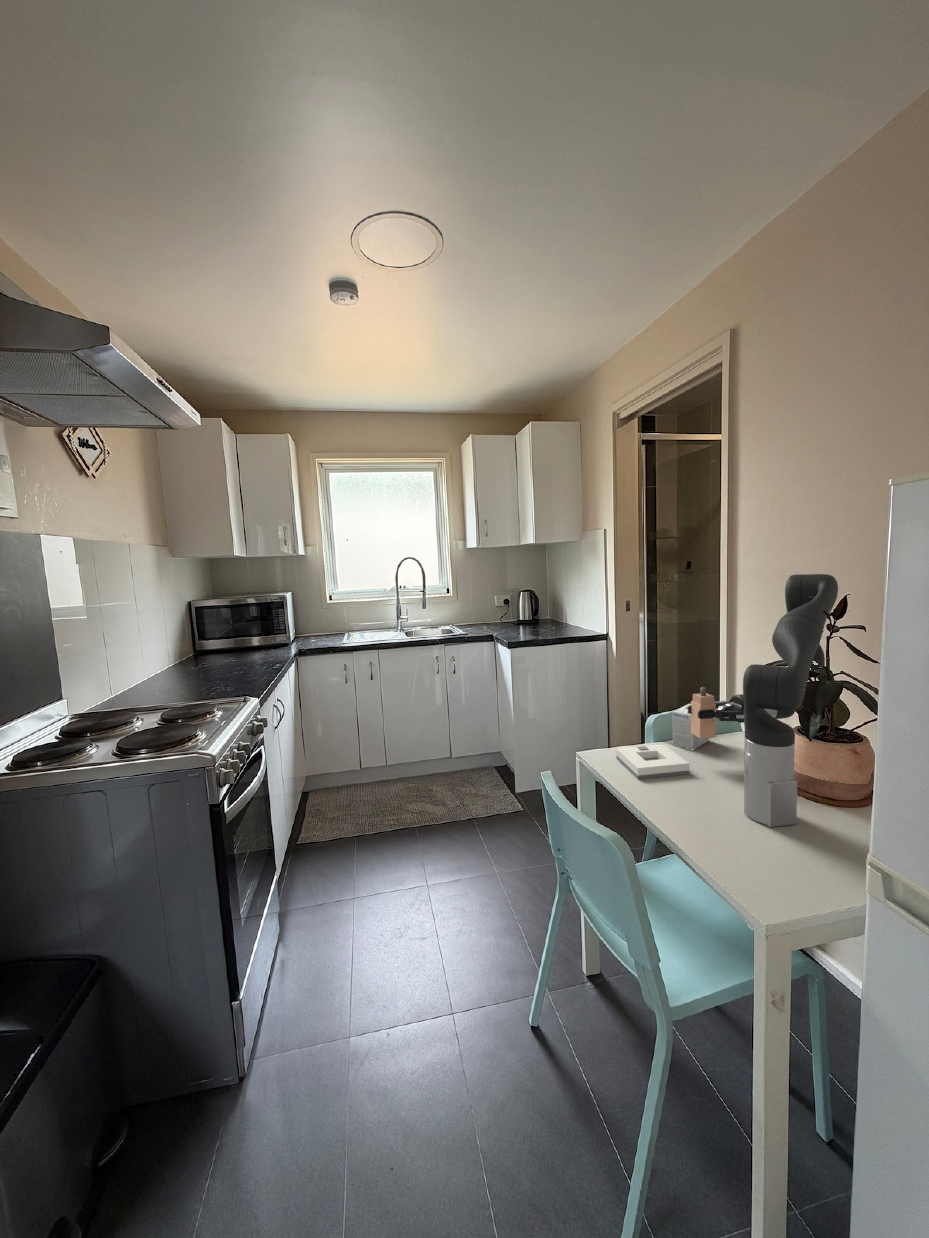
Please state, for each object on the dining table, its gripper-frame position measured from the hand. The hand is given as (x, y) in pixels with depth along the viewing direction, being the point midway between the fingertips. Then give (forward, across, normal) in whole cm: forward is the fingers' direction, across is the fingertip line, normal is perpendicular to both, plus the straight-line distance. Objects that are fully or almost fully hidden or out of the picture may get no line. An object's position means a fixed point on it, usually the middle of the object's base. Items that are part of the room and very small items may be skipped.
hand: (693, 712), depth 136 cm
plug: (-3, 0, +6) cm, 7 cm away
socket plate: (+11, -2, +15) cm, 19 cm away
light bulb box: (-8, -15, +15) cm, 23 cm away
